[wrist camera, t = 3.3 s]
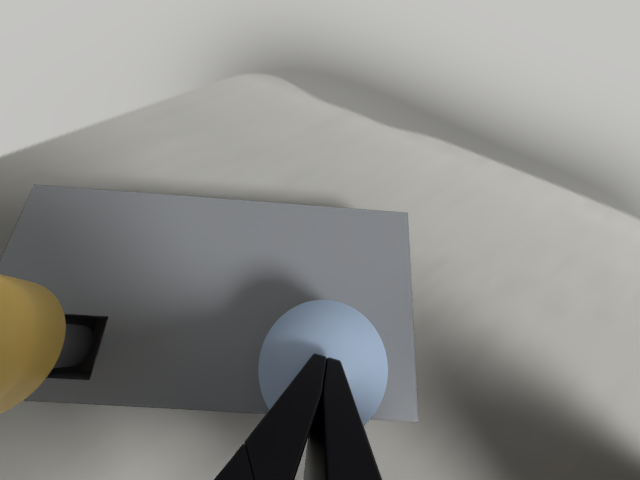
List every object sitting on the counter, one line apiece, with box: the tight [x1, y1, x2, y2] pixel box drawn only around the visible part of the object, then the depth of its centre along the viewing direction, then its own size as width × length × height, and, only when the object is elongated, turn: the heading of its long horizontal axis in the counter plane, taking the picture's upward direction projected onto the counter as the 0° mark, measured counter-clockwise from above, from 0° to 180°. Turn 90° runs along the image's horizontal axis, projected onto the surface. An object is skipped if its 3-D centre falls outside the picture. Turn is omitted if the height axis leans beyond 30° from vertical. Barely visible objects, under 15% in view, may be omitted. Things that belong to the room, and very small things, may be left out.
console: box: [0, 184, 418, 422], centre depth 15 cm, size 18×9×4 cm, turn 87°
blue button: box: [258, 300, 388, 426], centre depth 12 cm, size 4×4×6 cm
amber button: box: [0, 274, 95, 413], centre depth 9 cm, size 4×4×6 cm
